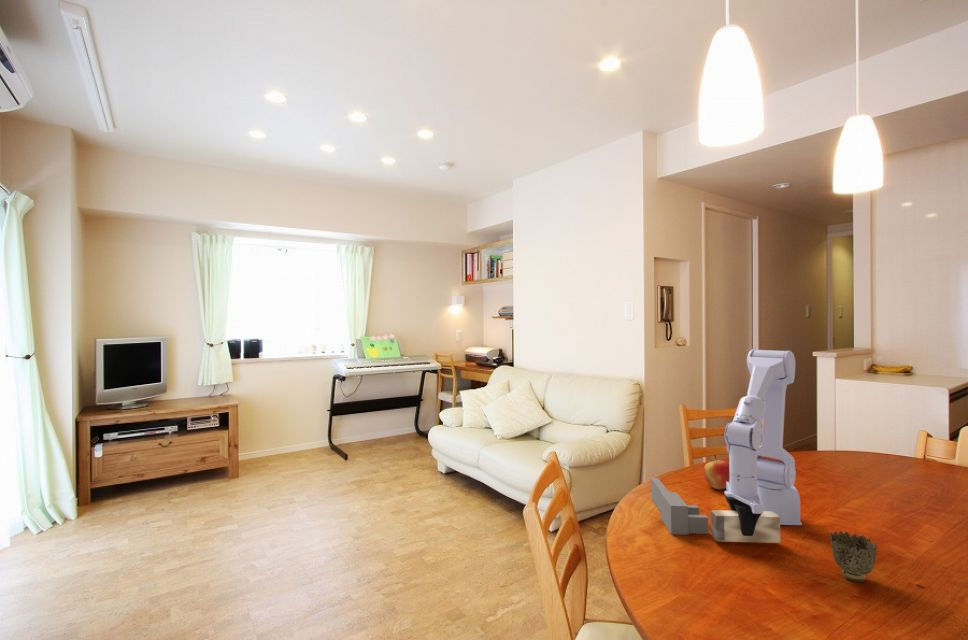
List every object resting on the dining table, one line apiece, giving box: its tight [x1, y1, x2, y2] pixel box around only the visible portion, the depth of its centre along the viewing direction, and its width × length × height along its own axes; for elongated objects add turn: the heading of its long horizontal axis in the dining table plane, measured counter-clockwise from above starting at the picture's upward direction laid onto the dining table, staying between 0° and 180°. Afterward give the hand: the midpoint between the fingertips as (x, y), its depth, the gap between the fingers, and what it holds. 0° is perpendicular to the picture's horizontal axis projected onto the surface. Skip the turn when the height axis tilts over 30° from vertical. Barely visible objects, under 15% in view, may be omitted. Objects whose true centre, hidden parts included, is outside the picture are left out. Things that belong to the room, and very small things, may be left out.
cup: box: [829, 530, 878, 583], centre depth 95 cm, size 8×7×8 cm
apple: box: [702, 454, 730, 490], centre depth 146 cm, size 8×8×10 cm
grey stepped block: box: [650, 477, 709, 536], centre depth 126 cm, size 9×23×7 cm, turn 175°
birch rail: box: [710, 509, 781, 544], centre depth 110 cm, size 14×3×6 cm, turn 85°
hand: (744, 531), depth 111 cm, fingers closed on birch rail, 3 cm apart
